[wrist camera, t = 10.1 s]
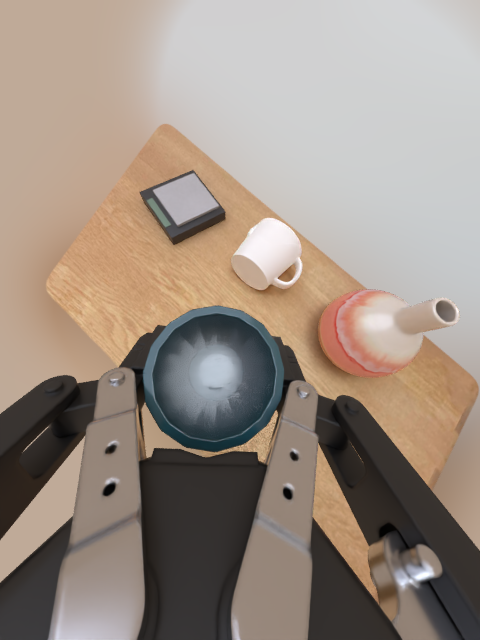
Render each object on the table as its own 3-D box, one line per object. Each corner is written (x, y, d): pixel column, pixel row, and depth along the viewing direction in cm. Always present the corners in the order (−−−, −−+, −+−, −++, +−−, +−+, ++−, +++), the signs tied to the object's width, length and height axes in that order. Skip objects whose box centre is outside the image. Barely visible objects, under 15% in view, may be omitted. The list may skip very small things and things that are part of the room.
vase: (351, 393, 34) (481, 415, 17) (291, 340, 35) (358, 312, 19) (388, 337, 38) (527, 309, 21) (332, 290, 39) (420, 228, 22)
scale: (173, 244, 38) (170, 235, 35) (143, 200, 40) (138, 189, 37) (225, 219, 41) (225, 209, 38) (194, 178, 42) (192, 166, 40)
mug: (226, 268, 38) (228, 242, 30) (255, 238, 40) (263, 206, 32) (275, 306, 37) (290, 290, 29) (301, 273, 39) (322, 249, 32)
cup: (207, 417, 18) (192, 487, 7) (174, 363, 18) (116, 353, 8) (258, 379, 19) (310, 389, 8) (225, 330, 20) (234, 283, 9)
